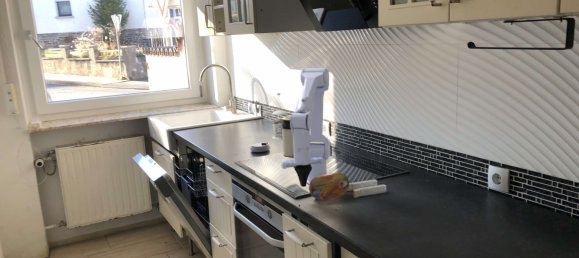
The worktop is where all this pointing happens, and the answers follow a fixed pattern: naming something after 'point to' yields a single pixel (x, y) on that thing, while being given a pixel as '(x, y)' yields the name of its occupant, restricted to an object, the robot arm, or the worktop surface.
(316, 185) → the tin
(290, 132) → the travel mug
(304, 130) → the robot arm
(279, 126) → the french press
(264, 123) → the worktop surface
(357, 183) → the door track
